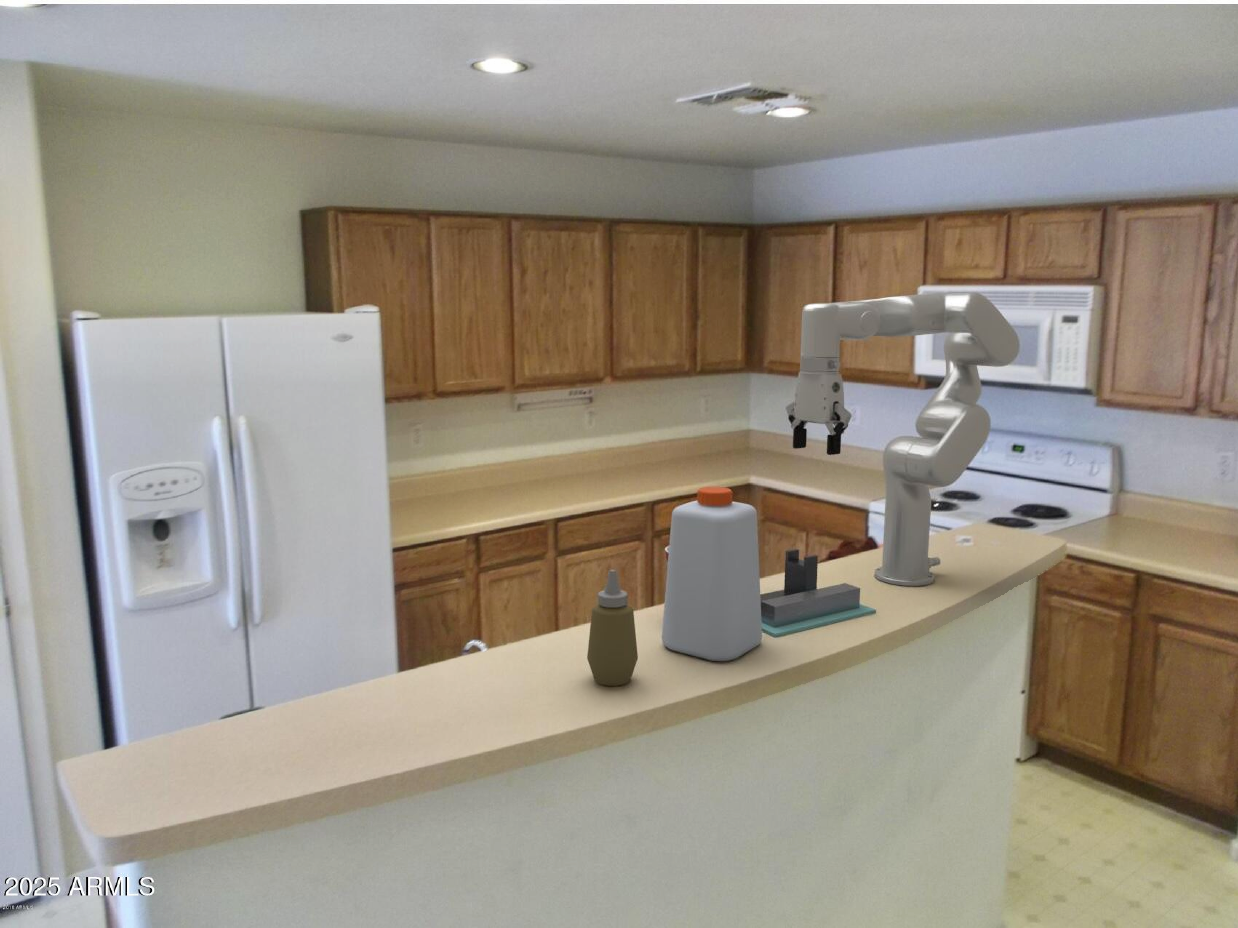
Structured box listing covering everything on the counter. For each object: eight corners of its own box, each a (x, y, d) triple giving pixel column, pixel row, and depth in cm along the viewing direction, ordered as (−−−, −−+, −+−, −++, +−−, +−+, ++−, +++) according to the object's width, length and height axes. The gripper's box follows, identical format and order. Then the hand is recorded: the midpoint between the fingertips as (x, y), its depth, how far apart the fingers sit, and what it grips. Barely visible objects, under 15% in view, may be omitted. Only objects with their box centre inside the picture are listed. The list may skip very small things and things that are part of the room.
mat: (842, 600, 184) (842, 597, 184) (875, 612, 176) (875, 609, 176) (742, 622, 170) (743, 619, 170) (774, 637, 163) (775, 634, 163)
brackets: (795, 589, 191) (797, 548, 189) (819, 598, 185) (820, 555, 184) (721, 605, 181) (722, 561, 179) (743, 614, 175) (744, 570, 173)
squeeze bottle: (579, 674, 146) (579, 566, 143) (625, 666, 149) (626, 561, 146) (598, 693, 138) (598, 580, 135) (646, 685, 142) (647, 574, 139)
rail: (844, 602, 181) (845, 583, 180) (859, 607, 177) (860, 588, 177) (760, 621, 169) (760, 601, 168) (774, 627, 166) (774, 607, 165)
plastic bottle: (727, 668, 148) (731, 502, 144) (652, 647, 157) (653, 490, 153) (770, 641, 160) (775, 487, 156) (698, 624, 169) (700, 478, 165)
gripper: (865, 368, 174) (861, 455, 177) (803, 363, 189) (800, 444, 191) (837, 369, 170) (833, 458, 173) (775, 364, 185) (773, 447, 187)
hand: (816, 451), depth 182 cm, fingers open, 9 cm apart
